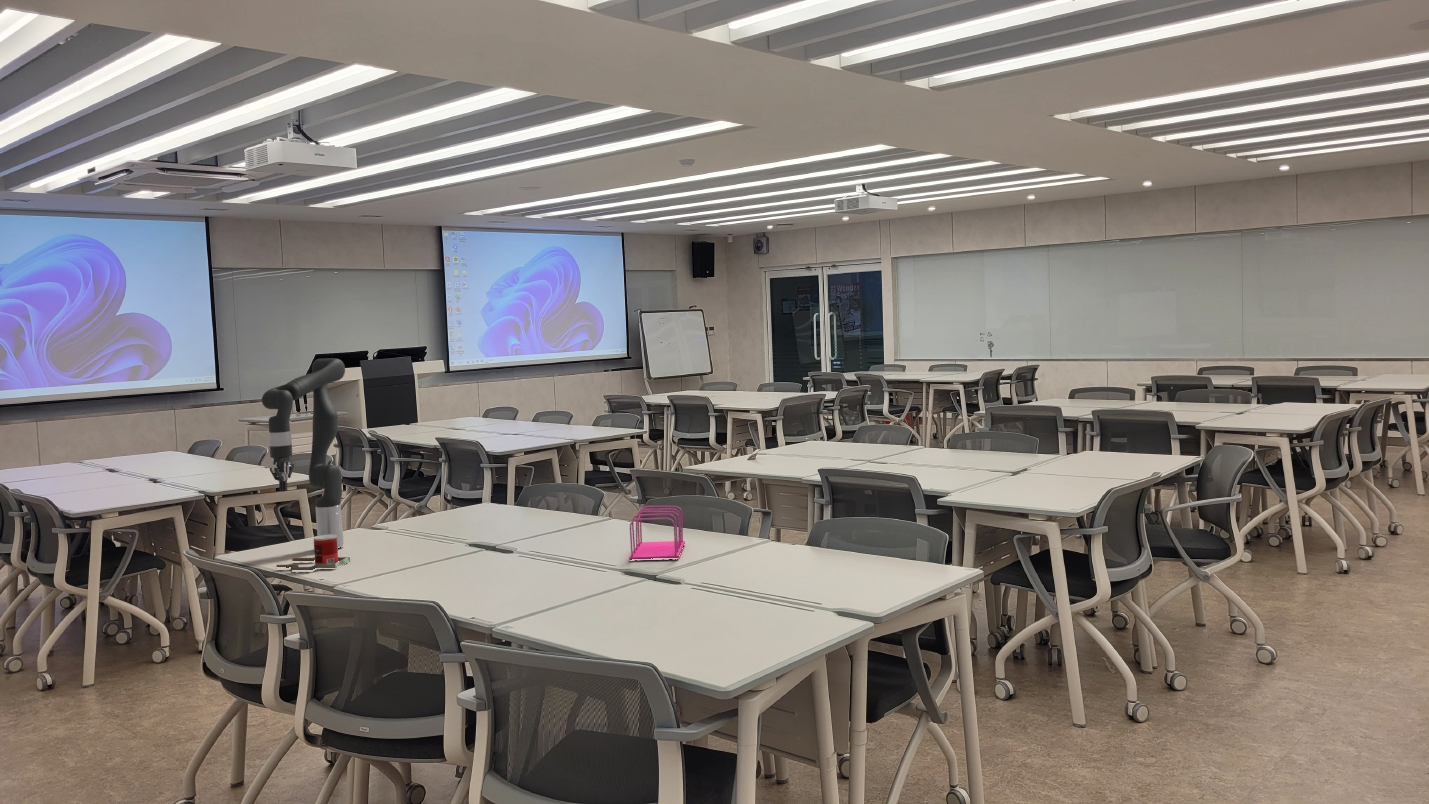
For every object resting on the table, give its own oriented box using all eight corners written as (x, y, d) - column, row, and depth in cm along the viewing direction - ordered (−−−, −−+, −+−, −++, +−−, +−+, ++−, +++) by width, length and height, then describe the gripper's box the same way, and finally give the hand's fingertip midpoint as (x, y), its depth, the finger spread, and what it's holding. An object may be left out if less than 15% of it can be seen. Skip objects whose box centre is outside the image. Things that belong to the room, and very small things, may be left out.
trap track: (298, 560, 363) (298, 555, 363) (355, 559, 360) (354, 554, 360) (270, 573, 344) (270, 567, 344) (329, 572, 342) (329, 566, 342)
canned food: (342, 563, 355) (340, 534, 354) (332, 568, 347) (330, 538, 346) (322, 564, 356) (320, 534, 355) (311, 569, 348) (309, 539, 347)
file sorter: (685, 545, 364) (683, 504, 363) (678, 560, 339) (676, 516, 338) (639, 546, 365) (637, 505, 364) (629, 562, 340) (627, 517, 339)
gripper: (280, 446, 350) (283, 493, 351) (299, 441, 363) (302, 487, 364) (260, 446, 350) (264, 494, 352) (280, 442, 364) (283, 488, 365)
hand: (283, 490), depth 358 cm, fingers closed
